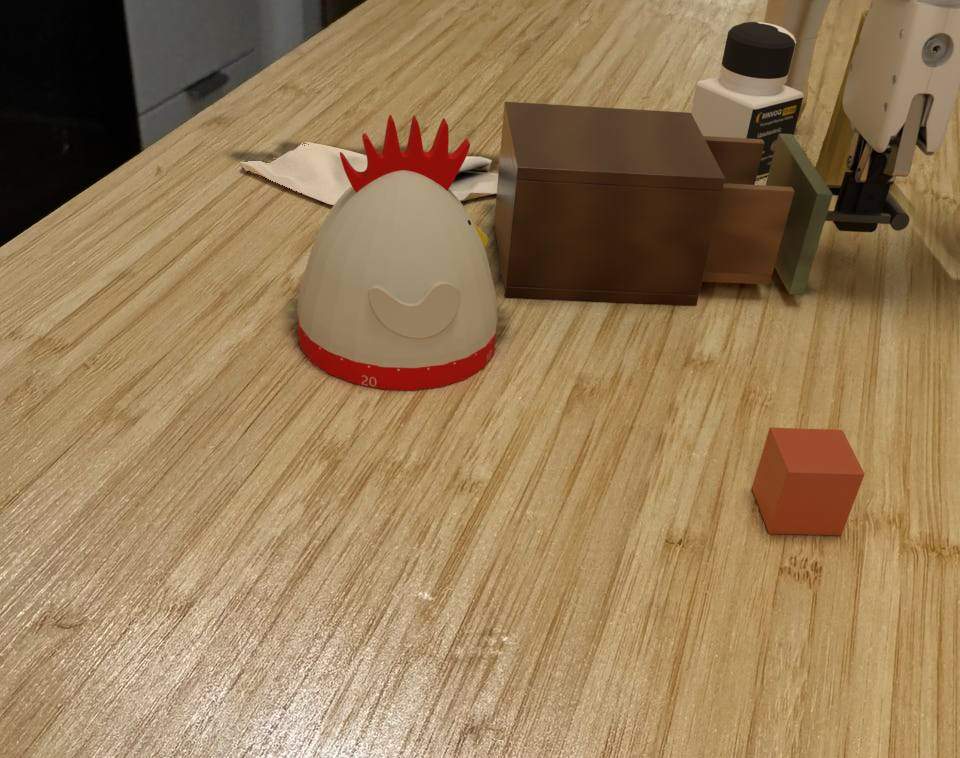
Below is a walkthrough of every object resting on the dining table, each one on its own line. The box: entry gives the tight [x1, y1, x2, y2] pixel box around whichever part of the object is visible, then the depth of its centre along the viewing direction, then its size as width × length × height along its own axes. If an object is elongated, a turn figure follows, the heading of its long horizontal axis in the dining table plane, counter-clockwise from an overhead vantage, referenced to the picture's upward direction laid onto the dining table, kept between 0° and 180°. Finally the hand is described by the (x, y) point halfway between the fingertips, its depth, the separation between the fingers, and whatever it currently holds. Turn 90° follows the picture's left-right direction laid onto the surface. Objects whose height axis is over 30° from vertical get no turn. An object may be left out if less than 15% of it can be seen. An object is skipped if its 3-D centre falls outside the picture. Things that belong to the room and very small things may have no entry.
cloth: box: [239, 141, 498, 206], centre depth 98 cm, size 26×14×2 cm, turn 80°
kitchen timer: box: [296, 114, 499, 391], centre depth 75 cm, size 14×14×15 cm
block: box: [751, 427, 865, 536], centre depth 67 cm, size 4×4×4 cm
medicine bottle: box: [690, 21, 803, 180], centre depth 104 cm, size 7×7×12 cm
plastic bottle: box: [763, 0, 831, 123], centre depth 110 cm, size 6×7×20 cm
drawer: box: [702, 134, 910, 296], centre depth 89 cm, size 21×12×8 cm, turn 93°
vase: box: [814, 9, 869, 185], centre depth 102 cm, size 6×6×14 cm
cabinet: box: [493, 101, 725, 307], centre depth 88 cm, size 15×13×10 cm
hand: (852, 226), depth 90 cm, fingers closed
